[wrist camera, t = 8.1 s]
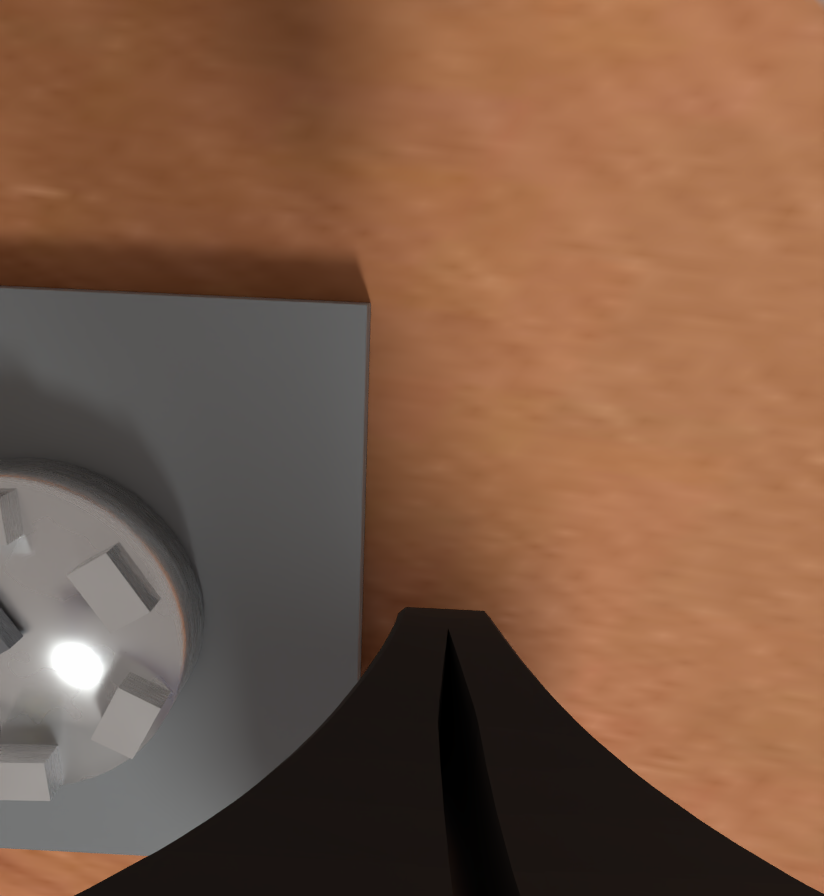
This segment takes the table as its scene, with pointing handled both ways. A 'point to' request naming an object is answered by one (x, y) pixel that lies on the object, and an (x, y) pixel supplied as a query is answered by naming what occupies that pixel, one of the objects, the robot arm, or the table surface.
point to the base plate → (207, 523)
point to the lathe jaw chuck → (85, 625)
